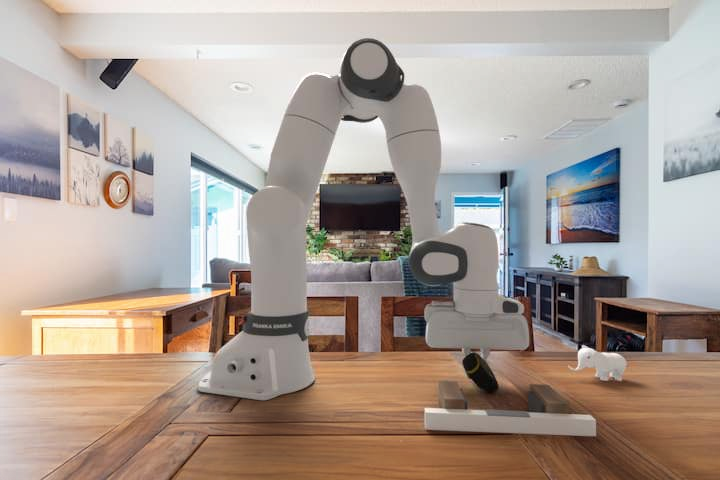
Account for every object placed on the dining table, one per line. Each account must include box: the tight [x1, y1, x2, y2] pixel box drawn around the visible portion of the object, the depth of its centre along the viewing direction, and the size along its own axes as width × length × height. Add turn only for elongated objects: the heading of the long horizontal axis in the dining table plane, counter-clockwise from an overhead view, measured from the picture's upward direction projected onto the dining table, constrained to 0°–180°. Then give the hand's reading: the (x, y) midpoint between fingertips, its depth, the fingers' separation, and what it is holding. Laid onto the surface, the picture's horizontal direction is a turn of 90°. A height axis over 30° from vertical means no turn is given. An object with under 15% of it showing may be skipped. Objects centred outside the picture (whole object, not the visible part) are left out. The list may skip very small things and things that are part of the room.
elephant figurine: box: [567, 344, 628, 382], centre depth 74 cm, size 7×12×6 cm, turn 90°
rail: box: [424, 380, 597, 437], centre depth 57 cm, size 24×8×4 cm, turn 84°
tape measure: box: [461, 351, 500, 394], centre depth 69 cm, size 7×7×4 cm
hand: (475, 369), depth 74 cm, fingers closed
